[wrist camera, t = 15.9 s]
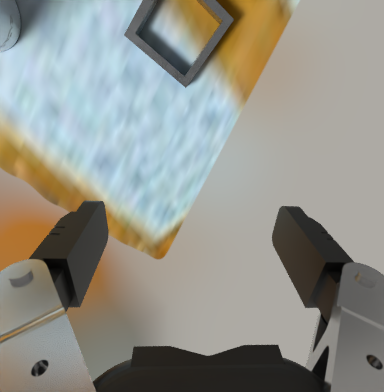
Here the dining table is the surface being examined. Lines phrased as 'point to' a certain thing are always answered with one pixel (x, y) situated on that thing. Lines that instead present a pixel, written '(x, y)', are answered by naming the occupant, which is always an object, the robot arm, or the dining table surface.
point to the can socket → (132, 34)
